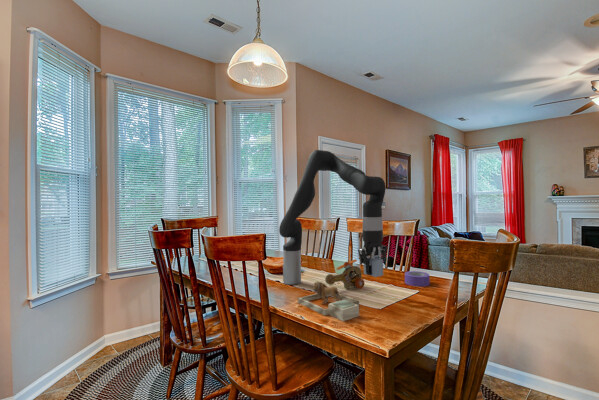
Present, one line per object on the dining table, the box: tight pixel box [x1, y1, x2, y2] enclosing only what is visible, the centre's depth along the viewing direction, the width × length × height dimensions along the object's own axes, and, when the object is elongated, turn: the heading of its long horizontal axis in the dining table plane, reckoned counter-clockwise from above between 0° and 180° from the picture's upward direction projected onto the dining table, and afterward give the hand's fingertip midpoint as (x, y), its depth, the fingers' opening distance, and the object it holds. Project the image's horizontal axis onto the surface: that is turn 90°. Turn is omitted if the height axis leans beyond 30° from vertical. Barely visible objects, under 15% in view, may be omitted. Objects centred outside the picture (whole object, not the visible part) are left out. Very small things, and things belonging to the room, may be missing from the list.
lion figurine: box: [311, 281, 342, 305], centre depth 124 cm, size 15×5×9 cm, turn 50°
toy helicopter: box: [324, 259, 365, 290], centre depth 145 cm, size 8×21×14 cm, turn 119°
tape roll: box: [404, 270, 430, 288], centre depth 153 cm, size 12×12×5 cm
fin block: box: [363, 258, 384, 278], centre depth 114 cm, size 6×4×6 cm, turn 34°
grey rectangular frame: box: [297, 293, 360, 322], centre depth 121 cm, size 26×18×4 cm
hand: (373, 273), depth 114 cm, fingers closed on fin block, 4 cm apart
